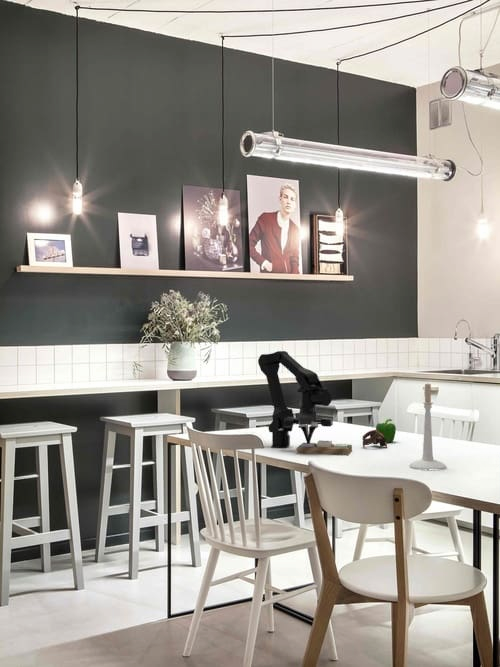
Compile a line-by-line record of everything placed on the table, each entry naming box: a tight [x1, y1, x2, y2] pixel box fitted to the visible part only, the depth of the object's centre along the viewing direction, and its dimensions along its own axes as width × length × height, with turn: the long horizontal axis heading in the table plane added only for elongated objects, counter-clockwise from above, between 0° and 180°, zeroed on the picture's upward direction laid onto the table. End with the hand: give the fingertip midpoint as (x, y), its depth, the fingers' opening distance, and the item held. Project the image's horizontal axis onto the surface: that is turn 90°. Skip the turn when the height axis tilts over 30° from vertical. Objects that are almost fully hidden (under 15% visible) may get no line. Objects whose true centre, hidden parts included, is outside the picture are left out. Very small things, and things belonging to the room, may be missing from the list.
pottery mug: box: [362, 429, 388, 449], centre depth 353 cm, size 12×10×8 cm
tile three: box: [334, 443, 349, 448], centre depth 338 cm, size 5×5×2 cm
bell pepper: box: [375, 418, 397, 444], centre depth 367 cm, size 8×8×10 cm
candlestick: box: [408, 383, 447, 471], centre depth 305 cm, size 13×13×30 cm
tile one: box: [300, 442, 317, 447], centre depth 342 cm, size 5×5×2 cm
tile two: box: [316, 440, 333, 447], centre depth 340 cm, size 5×5×2 cm
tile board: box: [296, 443, 353, 456], centre depth 340 cm, size 20×12×2 cm, turn 76°
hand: (308, 443), depth 342 cm, fingers closed, pressing on tile one
